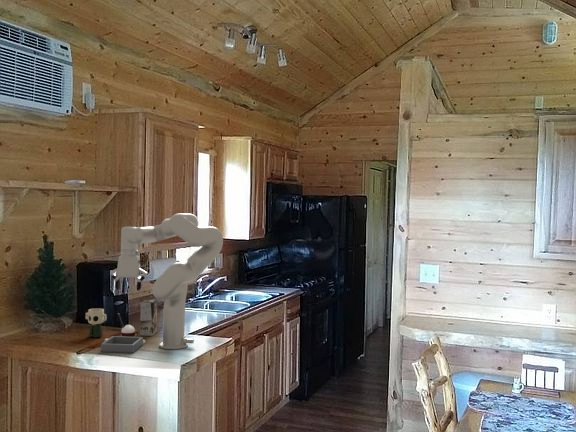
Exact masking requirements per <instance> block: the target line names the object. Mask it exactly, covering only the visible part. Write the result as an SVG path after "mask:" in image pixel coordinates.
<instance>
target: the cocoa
mask: <svg viewBox="0 0 576 432" xmlns="http://www.w3.org/2000/svg"><path fill="white" fill-rule="evenodd" d="M117 317H118V320H119V323H120V325H121V333H120V334H121V336H125V337H139V332H138V331H136V328H135V327H134V326H133V325H131V324H126V325H124V322H123V321H122V317H121V314H120V312H119V313H117ZM136 334H137V335H136ZM135 335H136V336H135Z"/></svg>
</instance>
